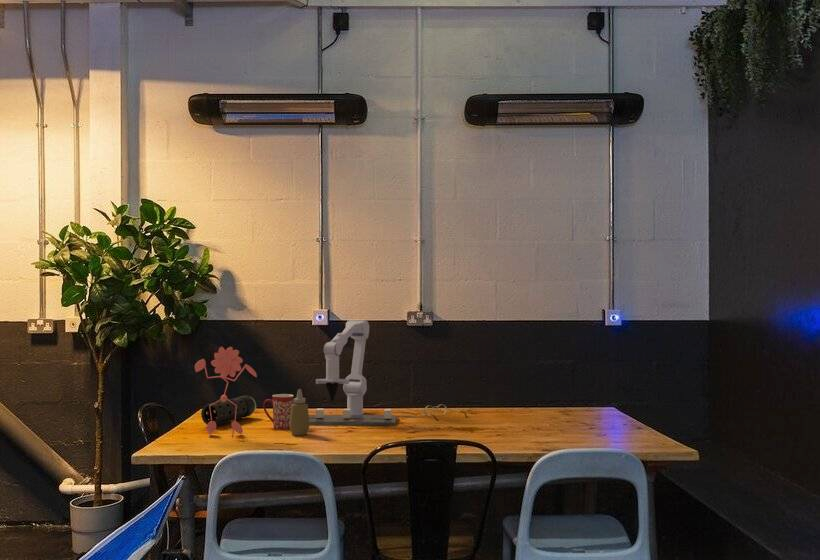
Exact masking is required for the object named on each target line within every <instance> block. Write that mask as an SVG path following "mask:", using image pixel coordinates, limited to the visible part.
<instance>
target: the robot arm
mask: <svg viewBox="0 0 820 560" xmlns="http://www.w3.org/2000/svg"><path fill="white" fill-rule="evenodd" d="M369 334H370V325H369V322H368V320H367V319H364V320H363V319H362V320H359V319H358V320H355V319H353V320H352V319H349V320H347V322H345V328H344V329H343V331H342V332H337V334H336V335H335V336H334V337H333V338H332V339H331V340H330V341H329V342H328V341H327V342H326V343H325V344H324V346H323V353H324V358H325V360H326V361H325V373H326V375H325V378H316V379H315V384H316V385H320V384H322V385H323V384H325V387H326V389H327V391H328V395H329V398H330V401H335V398H336V393H337V390H338V387H339V386H340V385H341V384H342V385H343V386H342V388H343V392H344V393H345V396H346V397H347V399H346V402H347V404H346V405H347V406H346V407H347V408H346V409H351V415H365V413H366V412H365V411H364V410H363V408H364V406H363V405H364V402H363V401H364V399H363V398H364V396H365V394H366V392H367V389H368V385H367V379H366V377H365V376H364V375H363V366H364V357H365V351H366V350H365V349H366V343H367V340H368V339H369ZM349 338H351V339H353V340H354V347H353V355H352V361H351V362H352V363H351V371H350V374H348V375H347V376H346V377H345V378H340V355H341V354H342V351H343V348H344V346H345V345H347V343H348V339H349Z"/></svg>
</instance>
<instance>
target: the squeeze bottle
mask: <svg viewBox="0 0 820 560" xmlns="http://www.w3.org/2000/svg"><path fill="white" fill-rule="evenodd" d="M309 415H310V414H309V406H308V403H306V397H303V391H302V389H301V388H299V389H297V393H296V397H295V398H294V397H293V404H292V405H291V413H290V423H289V427H290V428H289V430H290V432H291V435H292V436H297V437H299V436H302V437H303V436H306V435H308V432H309V429H310V426H311V425H310V424H309Z"/></svg>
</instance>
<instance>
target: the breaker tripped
mask: <svg viewBox="0 0 820 560" xmlns="http://www.w3.org/2000/svg"><path fill="white" fill-rule="evenodd" d="M342 415H343V418H350V417H351V409H347V408H344V409H343V410H342Z"/></svg>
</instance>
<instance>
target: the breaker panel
mask: <svg viewBox="0 0 820 560" xmlns="http://www.w3.org/2000/svg"><path fill="white" fill-rule="evenodd" d="M397 420H398V415H396V414H395V415H394V414H392V417H391V419H384V414H382V415H381V414H380V415H379V414H378V415H377V414H373V415H372V414H363V415H351V417H350V418H343V414H324V417H323V418H316V414H309V424H310V426H350V427H351V426H355V427H356V426H358V427H361V426H363V427H364V426H365V427H366V426H370V427H373V426H376V427H395V425H396V423H397Z"/></svg>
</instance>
